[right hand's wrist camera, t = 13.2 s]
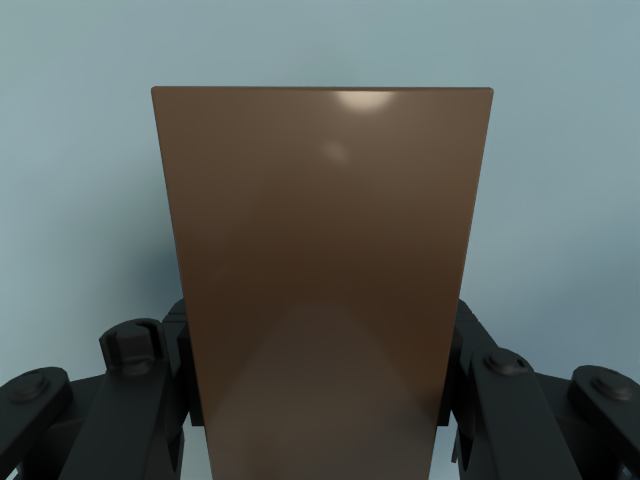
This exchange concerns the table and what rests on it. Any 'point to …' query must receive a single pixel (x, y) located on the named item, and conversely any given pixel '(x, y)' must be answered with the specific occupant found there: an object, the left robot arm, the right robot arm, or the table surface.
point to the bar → (321, 268)
